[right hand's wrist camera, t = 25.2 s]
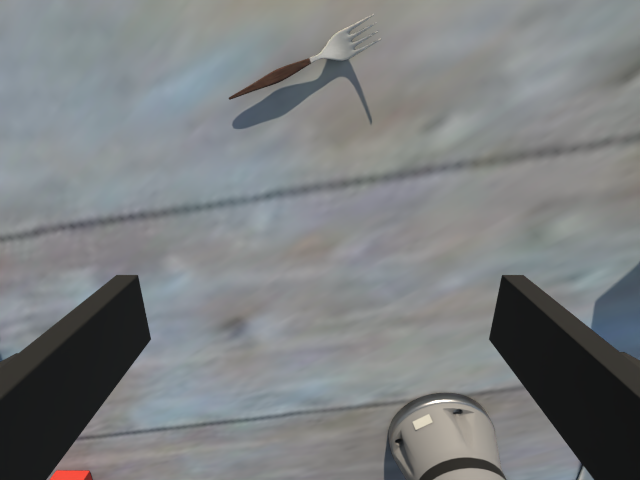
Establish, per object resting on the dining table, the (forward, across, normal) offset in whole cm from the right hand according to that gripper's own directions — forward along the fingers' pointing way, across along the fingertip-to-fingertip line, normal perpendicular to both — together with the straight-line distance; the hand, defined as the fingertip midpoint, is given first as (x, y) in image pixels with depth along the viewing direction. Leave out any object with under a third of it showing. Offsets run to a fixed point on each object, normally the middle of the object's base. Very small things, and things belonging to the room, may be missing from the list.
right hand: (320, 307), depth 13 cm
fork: (+28, +2, -11) cm, 30 cm away
